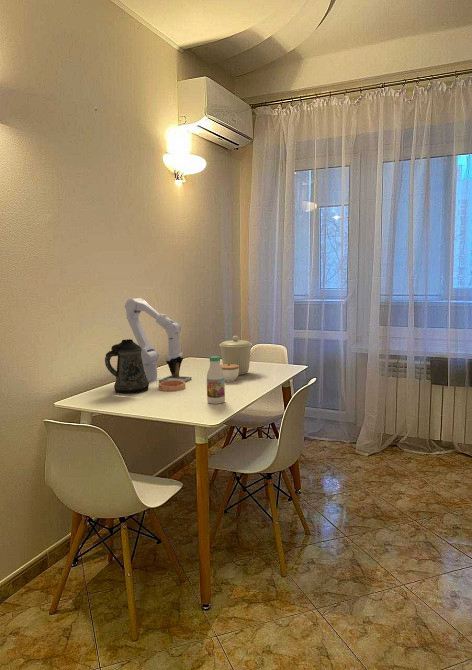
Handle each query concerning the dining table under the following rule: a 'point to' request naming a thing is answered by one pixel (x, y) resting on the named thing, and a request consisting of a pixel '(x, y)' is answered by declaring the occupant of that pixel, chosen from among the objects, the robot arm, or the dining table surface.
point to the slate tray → (175, 379)
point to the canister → (236, 353)
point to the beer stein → (128, 368)
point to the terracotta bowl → (171, 385)
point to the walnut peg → (176, 371)
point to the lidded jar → (230, 372)
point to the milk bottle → (215, 382)
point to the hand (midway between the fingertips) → (175, 372)
